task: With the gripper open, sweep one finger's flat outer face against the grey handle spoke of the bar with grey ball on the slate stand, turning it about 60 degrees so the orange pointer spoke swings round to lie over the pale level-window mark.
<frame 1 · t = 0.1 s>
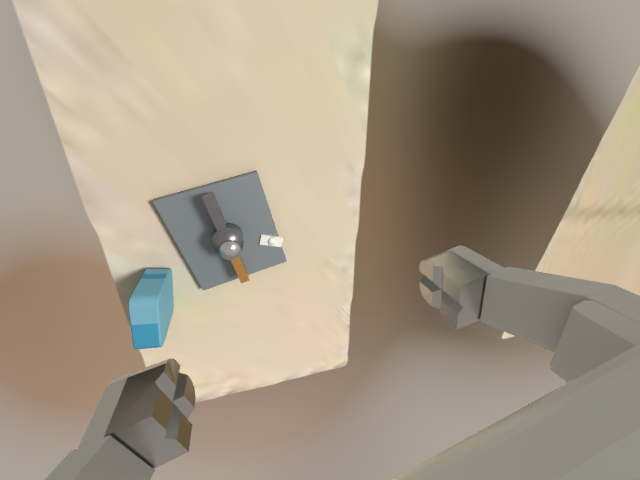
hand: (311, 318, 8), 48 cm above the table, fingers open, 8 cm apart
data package: (161, 288, 56), on the table
stand: (228, 232, 55), on the table
bar with grey ball: (228, 240, 51), point 4 cm above the table, hinge at 0.0°
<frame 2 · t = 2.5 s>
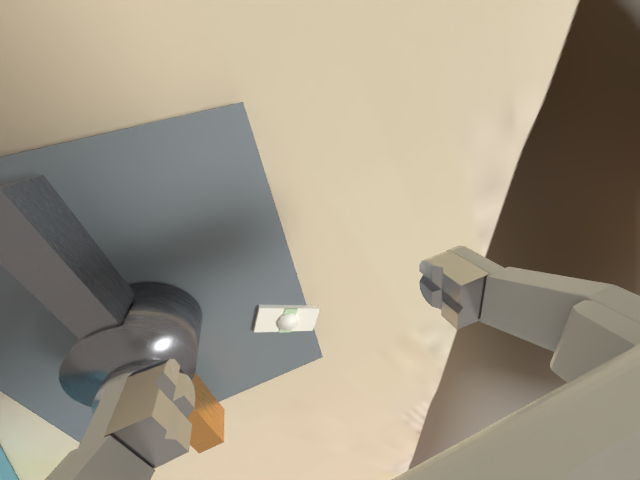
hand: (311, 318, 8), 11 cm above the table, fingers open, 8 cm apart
stand: (159, 302, 18), on the table
bar with grey ball: (141, 350, 15), point 4 cm above the table, hinge at 0.0°
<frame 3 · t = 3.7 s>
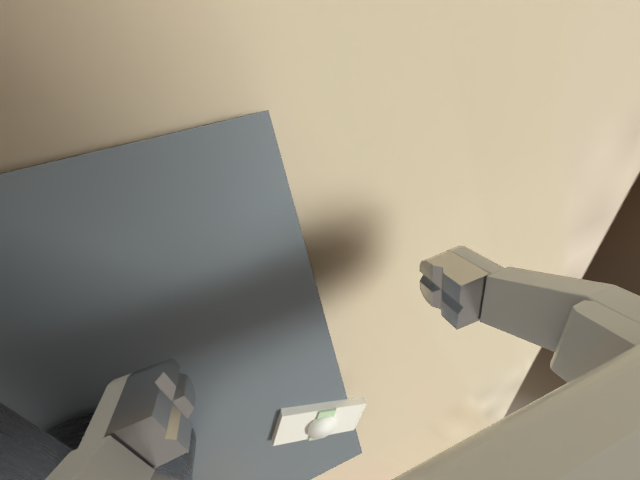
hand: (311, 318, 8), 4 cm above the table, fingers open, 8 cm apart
stand: (131, 413, 12), on the table
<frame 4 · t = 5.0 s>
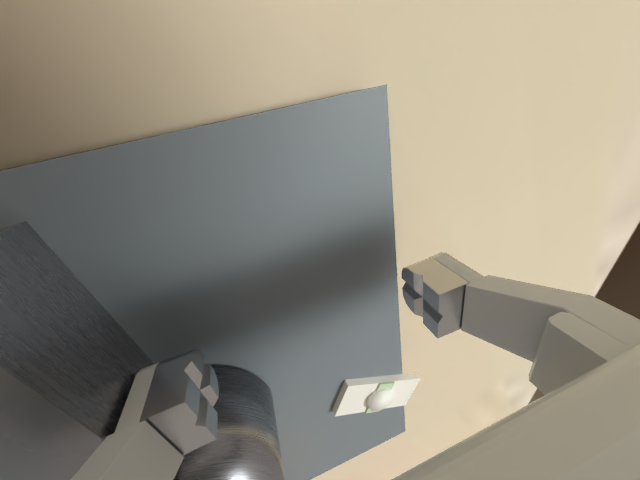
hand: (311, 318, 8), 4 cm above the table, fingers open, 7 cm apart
stand: (207, 381, 13), on the table
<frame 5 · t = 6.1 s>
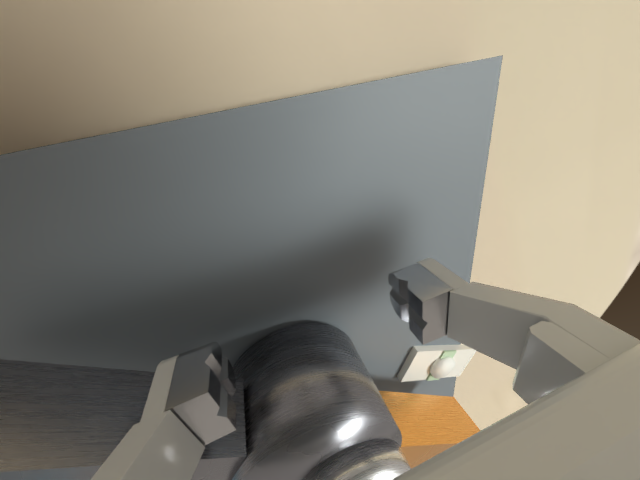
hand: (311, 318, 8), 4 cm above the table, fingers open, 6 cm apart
stand: (288, 343, 13), on the table
bar with grey ball: (310, 430, 10), point 4 cm above the table, hinge at 49.5°, touching gripper
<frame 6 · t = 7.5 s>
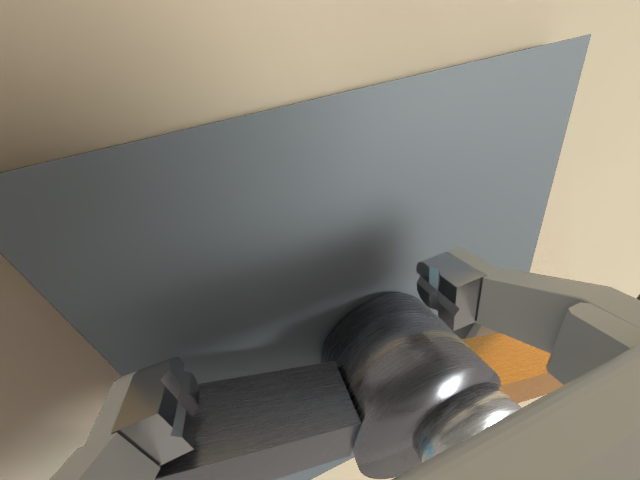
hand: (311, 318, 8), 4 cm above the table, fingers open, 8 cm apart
stand: (361, 318, 14), on the table
bar with grey ball: (408, 389, 10), point 4 cm above the table, hinge at 69.2°, touching gripper
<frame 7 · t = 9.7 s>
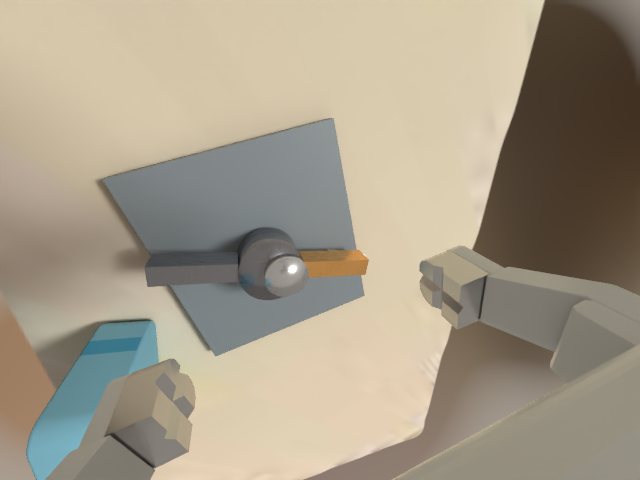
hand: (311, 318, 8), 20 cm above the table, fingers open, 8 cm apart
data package: (136, 355, 29), on the table
stand: (265, 246, 28), on the table
bar with grey ball: (270, 265, 24), point 4 cm above the table, hinge at 69.3°
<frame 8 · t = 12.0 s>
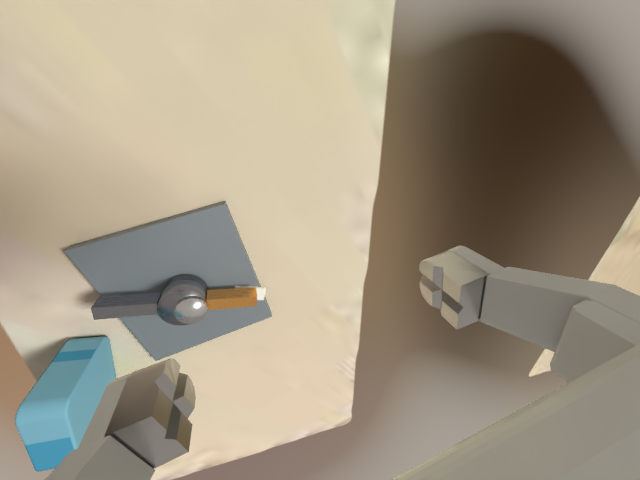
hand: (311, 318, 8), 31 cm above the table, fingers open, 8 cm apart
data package: (97, 360, 40), on the table
stand: (188, 284, 39), on the table
bar with grey ball: (184, 301, 36), point 4 cm above the table, hinge at 69.3°
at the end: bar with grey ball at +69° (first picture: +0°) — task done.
